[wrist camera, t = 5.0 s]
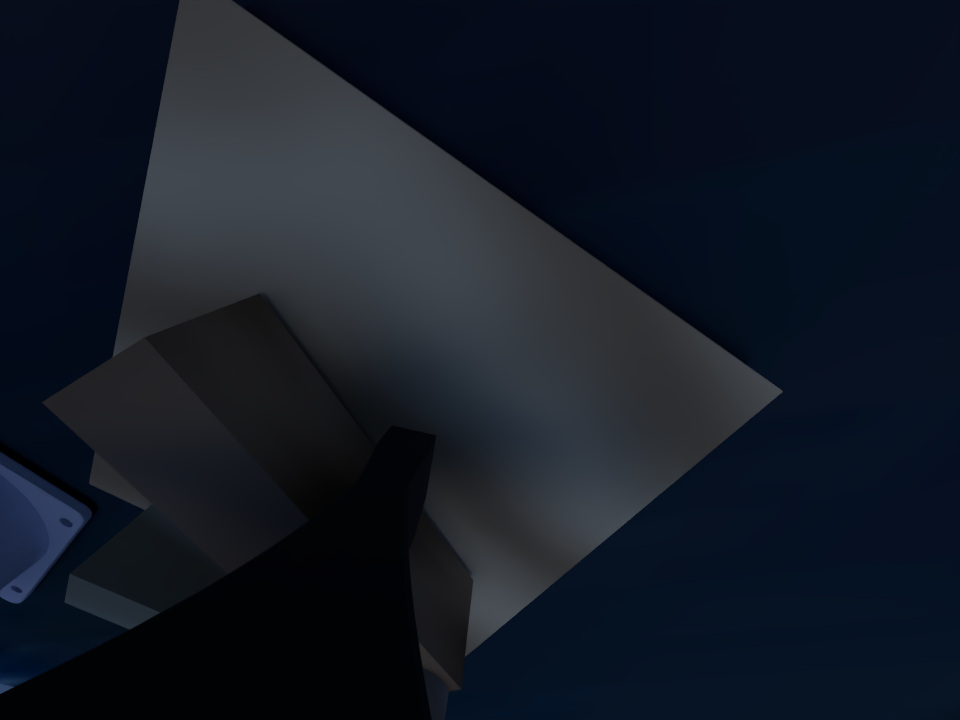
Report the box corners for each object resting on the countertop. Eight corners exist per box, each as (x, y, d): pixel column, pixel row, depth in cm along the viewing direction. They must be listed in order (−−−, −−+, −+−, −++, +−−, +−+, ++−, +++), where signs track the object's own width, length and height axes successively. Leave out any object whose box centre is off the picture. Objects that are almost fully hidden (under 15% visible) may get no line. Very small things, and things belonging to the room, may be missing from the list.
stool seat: (467, 619, 16) (450, 764, 12) (131, 455, 14) (-32, 564, 10) (747, 365, 10) (902, 479, 6) (242, 7, 8) (-50, -195, 4)
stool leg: (482, 593, 13) (470, 743, 9) (410, 611, 13) (373, 756, 10) (259, 293, 9) (93, 356, 5) (176, 343, 10) (-15, 426, 6)
